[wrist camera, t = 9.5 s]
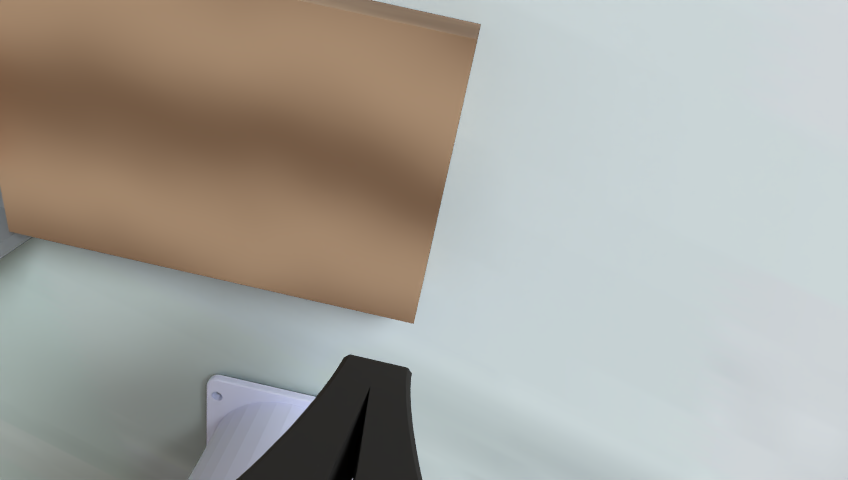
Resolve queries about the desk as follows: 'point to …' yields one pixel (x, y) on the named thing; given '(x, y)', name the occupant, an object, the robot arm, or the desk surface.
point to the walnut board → (237, 137)
